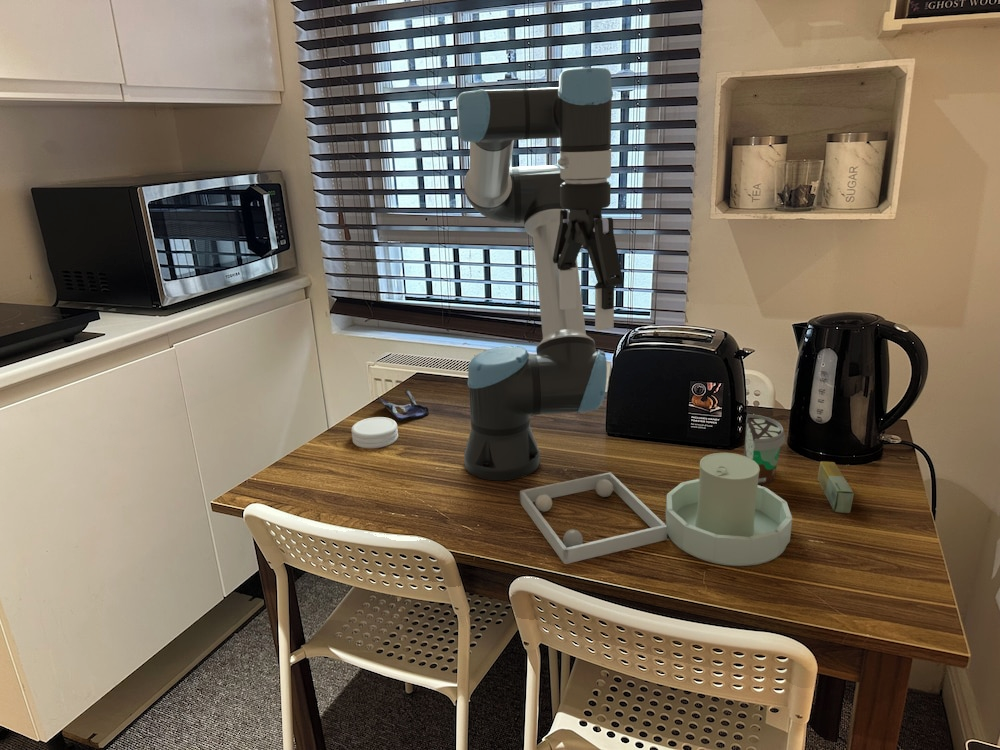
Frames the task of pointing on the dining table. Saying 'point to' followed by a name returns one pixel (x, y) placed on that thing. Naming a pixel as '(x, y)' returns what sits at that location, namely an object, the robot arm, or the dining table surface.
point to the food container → (763, 445)
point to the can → (727, 494)
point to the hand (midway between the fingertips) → (585, 318)
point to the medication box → (835, 487)
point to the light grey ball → (604, 488)
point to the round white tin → (374, 432)
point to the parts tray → (600, 546)
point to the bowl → (727, 549)
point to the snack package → (406, 408)
